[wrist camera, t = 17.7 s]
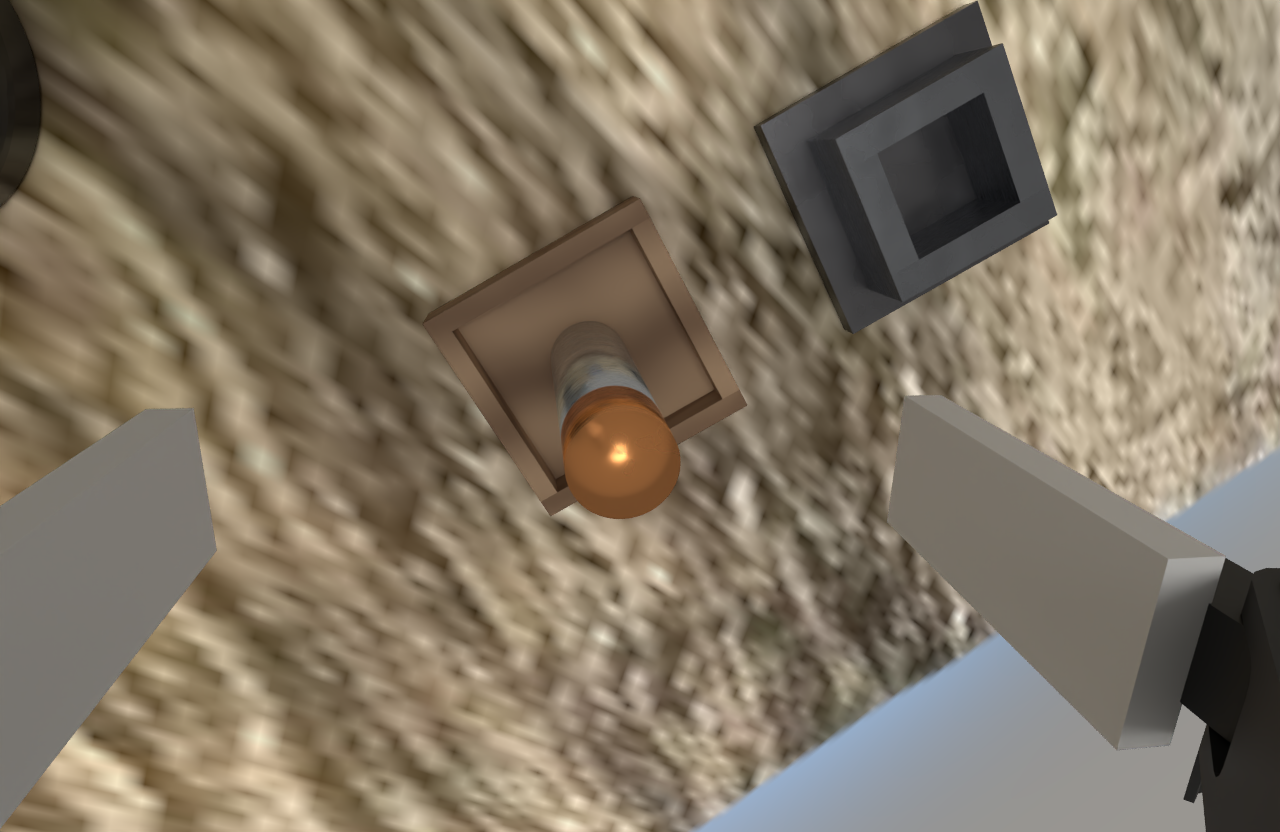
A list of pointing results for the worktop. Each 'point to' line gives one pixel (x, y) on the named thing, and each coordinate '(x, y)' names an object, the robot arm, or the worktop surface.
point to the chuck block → (910, 167)
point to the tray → (568, 294)
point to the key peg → (610, 425)
